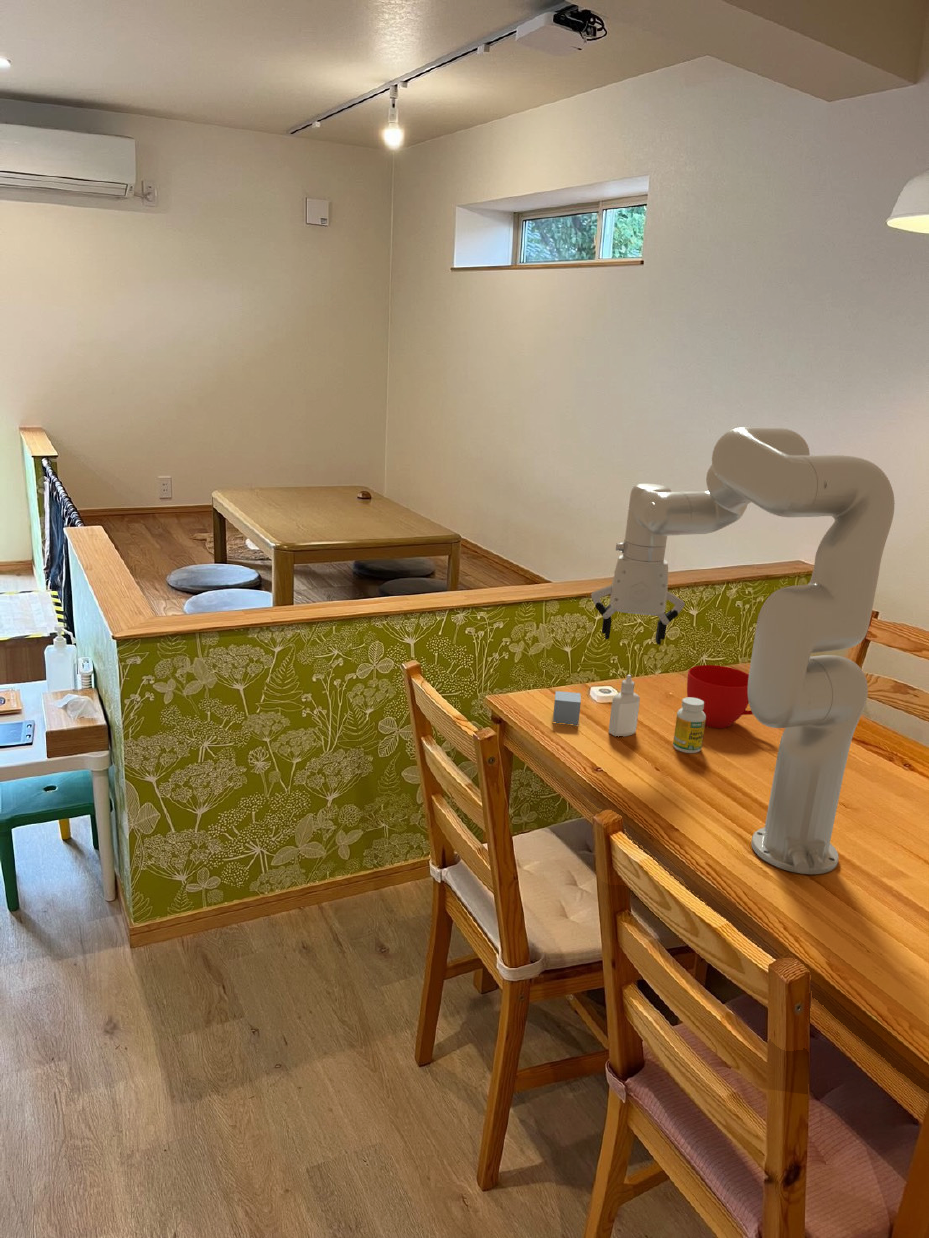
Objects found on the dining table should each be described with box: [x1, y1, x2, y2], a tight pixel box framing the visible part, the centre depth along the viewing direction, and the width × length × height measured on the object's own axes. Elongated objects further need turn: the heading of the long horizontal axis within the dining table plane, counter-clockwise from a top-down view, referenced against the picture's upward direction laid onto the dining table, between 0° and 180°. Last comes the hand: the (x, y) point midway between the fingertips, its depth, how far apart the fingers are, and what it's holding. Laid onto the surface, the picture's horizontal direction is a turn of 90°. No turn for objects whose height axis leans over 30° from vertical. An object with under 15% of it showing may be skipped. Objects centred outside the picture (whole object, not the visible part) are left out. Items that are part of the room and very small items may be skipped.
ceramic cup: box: [686, 664, 753, 729], centre depth 191 cm, size 13×17×10 cm
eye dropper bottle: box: [608, 674, 641, 738], centre depth 183 cm, size 4×6×12 cm
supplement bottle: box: [672, 696, 706, 754], centre depth 179 cm, size 5×5×10 cm
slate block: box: [552, 690, 582, 726], centre depth 189 cm, size 5×5×5 cm
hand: (632, 639), depth 180 cm, fingers open, 9 cm apart
